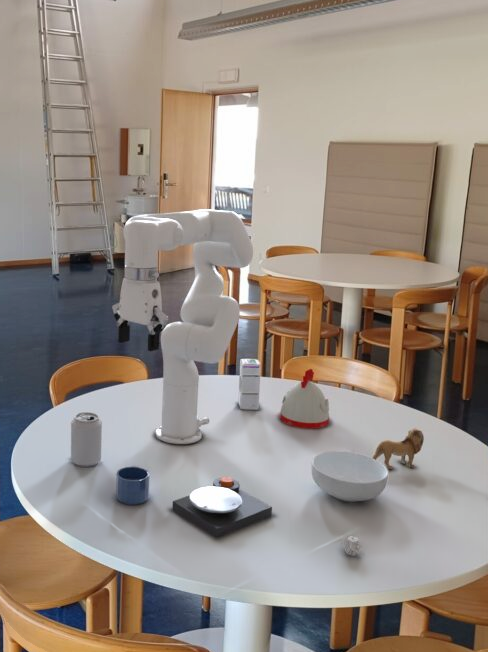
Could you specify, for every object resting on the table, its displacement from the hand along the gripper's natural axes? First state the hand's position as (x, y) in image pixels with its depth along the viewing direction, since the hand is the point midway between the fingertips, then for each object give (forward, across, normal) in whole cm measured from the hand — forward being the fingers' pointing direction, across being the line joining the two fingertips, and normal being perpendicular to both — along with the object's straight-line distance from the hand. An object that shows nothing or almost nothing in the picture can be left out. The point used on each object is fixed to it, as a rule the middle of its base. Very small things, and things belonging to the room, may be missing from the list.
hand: (138, 345), depth 168 cm
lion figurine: (+30, -44, -50) cm, 73 cm away
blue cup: (+31, -11, +12) cm, 35 cm away
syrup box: (+30, +7, -57) cm, 65 cm away
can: (+31, +10, +7) cm, 33 cm away
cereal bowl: (+31, -43, -26) cm, 59 cm away
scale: (+31, -29, +2) cm, 42 cm away
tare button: (+28, -25, -4) cm, 37 cm away
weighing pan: (+27, -28, +4) cm, 40 cm away
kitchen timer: (+30, -11, -60) cm, 68 cm away
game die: (+31, -56, -4) cm, 64 cm away
